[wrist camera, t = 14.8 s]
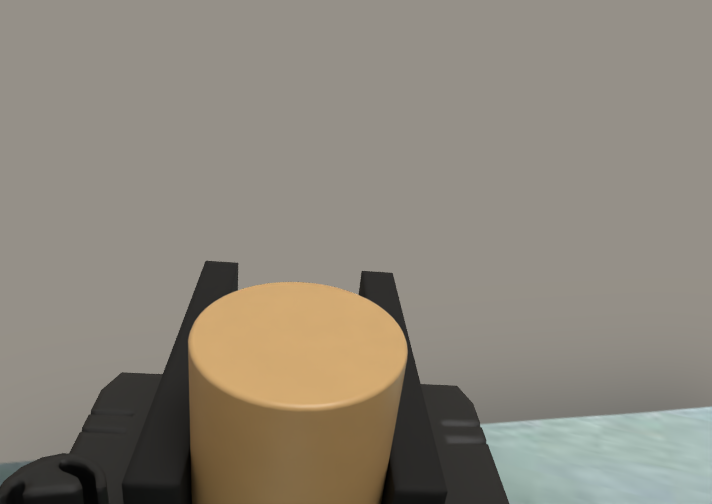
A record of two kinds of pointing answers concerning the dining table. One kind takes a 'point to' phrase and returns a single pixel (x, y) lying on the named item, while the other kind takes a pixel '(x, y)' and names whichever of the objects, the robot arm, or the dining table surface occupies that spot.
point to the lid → (293, 396)
